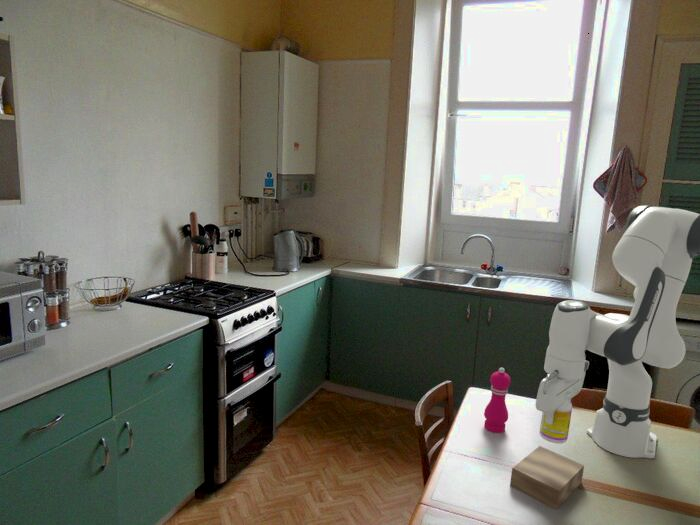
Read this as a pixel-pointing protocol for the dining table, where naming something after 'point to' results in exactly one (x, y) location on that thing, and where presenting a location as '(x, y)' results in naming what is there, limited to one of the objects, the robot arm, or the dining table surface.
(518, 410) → the dining table surface
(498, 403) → the pepper mill
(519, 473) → the walnut stand
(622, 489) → the dining table surface
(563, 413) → the supplement bottle
